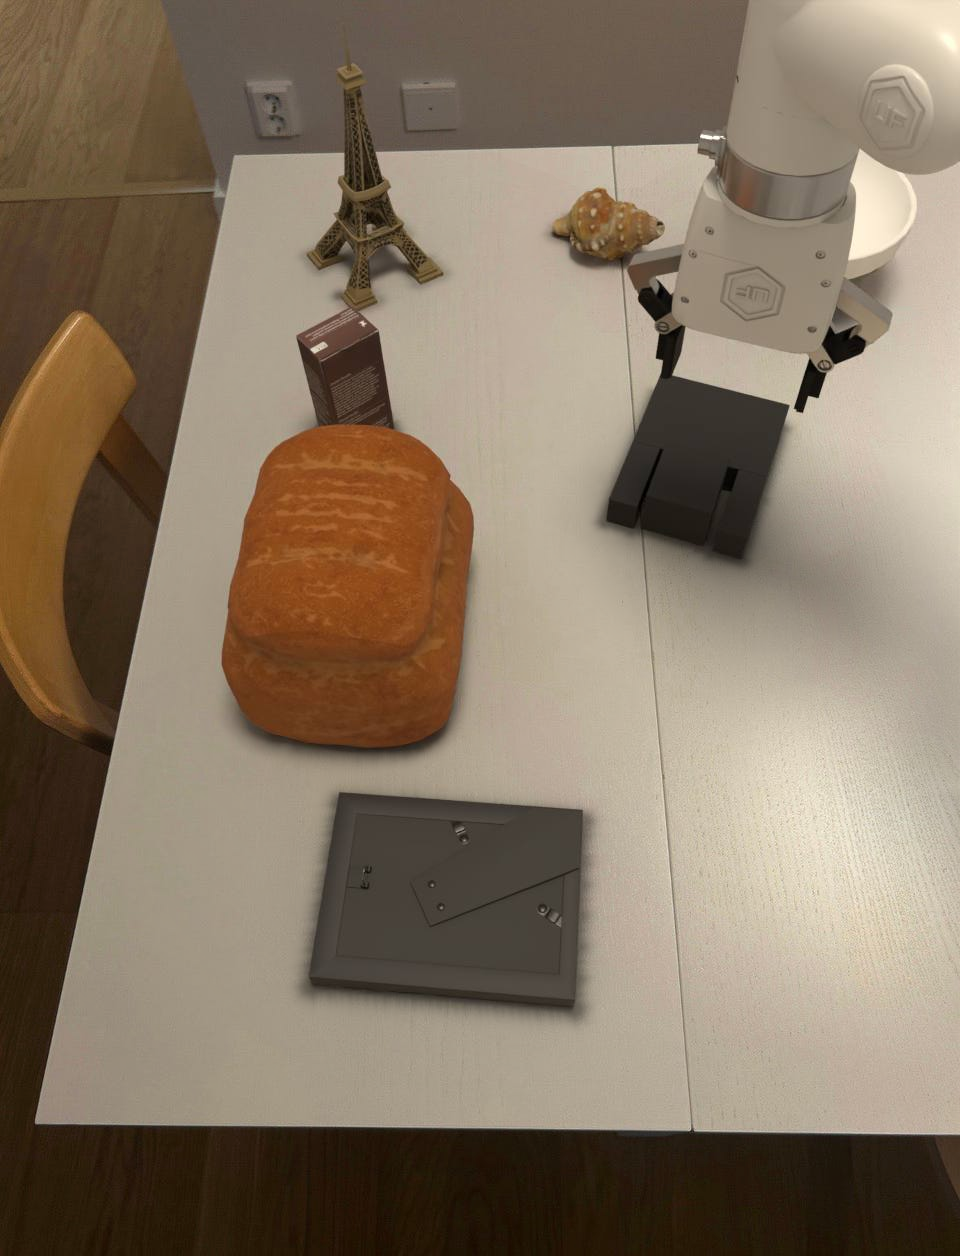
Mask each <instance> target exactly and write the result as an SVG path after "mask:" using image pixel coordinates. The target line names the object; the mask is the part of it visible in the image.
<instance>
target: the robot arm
mask: <svg viewBox="0 0 960 1256" xmlns="http://www.w3.org/2000/svg"><path fill="white" fill-rule="evenodd" d="M740 44H741V45H740V50H739V54H738V55H739V56H738V62H737V68H736V73H735V80H734V85H733V89H732V90H733V92H732V95H731V102H730V108H729V114H728V119H727V125H726V124H724V125H723V127H722V130H720V129H715V131H712V130H707V129H703V130H702V131H701V134H700V137H699V141H698V144H697V149H696V150H697V155H701V156H706V157H708V159H709V160H713V161H714V165H713V166H712V168H711V169H710V170H709V173H708V174H707V175H706V177H705V178H704V180H703V183H702V185H701V187H700V189H699V192H698V195H697V197H696V200H695V203H694V206H693V210H692V213H691V216H690V219H689V222H688V223H689V224H688V226H687V231H686V235H685V239H684V243H680V244H677V245H671V246H667V247H663V248H662V247H661V248H657V249H652V250H648V251H644V252H639V253H636V254H633V256H632V258H631V260H630V261H629V264H628V266H627V268H626V272H627V274H628V278H629V279H630V281H631V283H632V286H633V288H634V290H635V291H636V292H637V295H638V296H637V301H638V303H639V305H640V306H641V307H642V308H643V309H644V311H646V312H647V314H648V315H649V316H650V318H651V319H652V320H653V321H654V330H655V331H656V332H657V333H658V338H657V346H656V351H655V359H656V360H660V361H662V364H661V369H660V374H661V377H660V376H659V377H660V378H663V379H667V380H668V378H671V377H672V375H674V372H675V369H676V367H677V364H678V362H679V359H680V358H681V355H682V350H683V345H684V340H685V333H686V328H688V329H690V330H693V331H696V332H699V333H703V334H707V335H712V336H716V337H721V338H724V339H728V340H733V341H738V342H741V343H745V344H750V345H754V346H758V347H762V348H768V349H772V350H776V351H780V352H785V353H790V354H798V355H799V354H800V355H801V354H802V355H803V354H806V355H807V356H808V360H807V364H806V367H805V370H804V373H803V376H802V380H801V383H800V387H799V390H798V393H797V395H796V400H795V403H794V406H793V410H795V413H800V414H804V413H805V412H804V411H805V408H806V406H807V402H808V398H809V397H811V398H813V399H814V398H815V399H819V398H820V395H821V392H822V389H823V386H824V383H825V381H826V377H827V374H828V373H830V372H832V371H833V370H834V368H835V366H836V365H837V364H841V363H843V362H845V361H847V360H850V359H853V358H855V357H858V356H860V355H862V354H863V353H864V352H865V349H866V348H868V347H869V346H870V345H872V344H874V343H875V342H876V341H877V340H878V339H880V338H881V337H883V336H884V335H885V334H886V333H887V332H888V331H889V330H890V327H891V323H892V320H893V312H892V311H891V310H890V309H889V308H887V307H886V306H885V305H884V304H882V303H880V301H878V300H876V299H875V298H874V297H873V296H871V294H868V293H867V292H866V291H864V290H863V289H861V287H859V286H858V285H855V284H853V283H852V282H851V281H849V280H848V279H847V278H845V277H844V275H845V271H846V267H847V262H848V258H849V253H850V248H851V243H852V236H853V230H854V222H855V211H856V191H855V188H854V186H853V184H852V183H851V182H850V180H851V177H852V173H853V170H854V166H855V163H856V160H857V156H858V153H859V149H861V150H862V151H864V152H865V153H866V154H868V155H869V156H870V157H872V158H873V159H874V160H876V161H877V162H879V163H881V164H882V165H884V166H886V167H888V168H890V169H893V170H895V171H898V172H901V173H903V174H905V175H911V176H912V175H913V176H926V175H932V174H936V173H939V172H942V171H944V170H946V169H949V168H951V167H953V166H955V165H956V164H958V163H960V0H748V4H747V10H746V16H745V21H744V28H743V33H742V39H741V43H740ZM674 273H677V275H676V280H675V285H674V289H673V292H672V293H670V292H669V291H668V289H667V288H666V287H665V286H664V285H663V283H662V282H661V281H660V280H659V279H658V278H657V277H658V276H659V277H660V276H663V275H668V274H674ZM836 308H837V309H839V310H840V311H842V312H843V313H844V314H846V315H847V316H848V317H850V318H851V319H852V320H854V321H855V322H856V323H858V324H856V325H853V326H850V327H849V328H845V329H844V330H842V331H838V329H837V327H836V325H835V323H834V322H833V318H834V315H835V311H836Z"/></svg>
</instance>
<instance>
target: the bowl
mask: <svg viewBox="0 0 960 1256" xmlns="http://www.w3.org/2000/svg"><path fill="white" fill-rule="evenodd" d="M850 182H851V183H852V184H853V186H854V188H855V191H856V211H855V222H854V230H853V236H852V243H851V248H850V253H849V258H848V262H847V267H846V271H845V275H844V277H845V278H847V279H848V280H849V281H851V282H852V283H853V284H855V285H856V286H858V284H859V283H860V282H861V281H863V280H864V279H865V278H867V277H869V276H870V275H872V274H874V273H875V272H876V271H877V270H878V269H880V268H881V267H882V266H884V265H885V264H886V263H888V261H890V260H891V259H892V258H893V257H894V256H895V254H896V253H897V251H898V250H899V249H900V247H902V245H903V243H904V242H905V240H906V239H907V237H908V235H909V234H910V232H911V230H912V228H913V225H914V224H915V220H916V216H917V213H918V201H917V195H916V192H915V190H914V187H913V186H912V183H911V181H910V180H909V179H908V178H907V176H906V174H905V173H901V172H898V171H895V170H893V169H890V168H888V167H886V166H884V165H882V164H881V163H879V162H877V161H876V160H874V159H873V158H872V157H870V156H869V155H868V154H866V153H865V152H864V151H862V150H861V149H859V153H858V156H857V160H856V163H855V166H854V170H853V173H852V177H851V180H850Z"/></svg>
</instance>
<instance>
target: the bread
mask: <svg viewBox="0 0 960 1256" xmlns="http://www.w3.org/2000/svg"><path fill="white" fill-rule="evenodd" d="M258 472H259V473H258V476H257V480H256V483H255V488H254V489H255V490H254V494H253V496H252V499H251V501H250V504H249V506H248V509H247V511H246V514H245V516H244V520H243V525H242V532H241V541H240V546H239V552H238V558H237V561H236V564H235V568H234V572H233V575H232V578H231V582H230V585H229V592H228V598H227V599H228V600H227V615H226V616H227V618H226V623H225V629H224V635H223V642H222V647H221V667H222V670H223V673H224V677H225V680H226V682H227V685H228V686H229V689H230V691H231V693H232V695H233V697H234V700H235V701H236V704H237V705H238V707H239V709H240V710H241V712H242V713H243V714H244V715H245V717H247V718H248V720H249V721H250V722H251V723H252V724H254V725H255V726H258V727H259V728H260V729H262V730H264V731H266V732H267V733H269V734H272V735H276V736H281V737H285V738H290V739H293V740H296V741H300V742H303V743H309V744H317V745H333V746H335V745H337V746H346V747H347V746H348V747H357V748H388V747H389V748H390V747H397V746H406V745H408V744H412V743H415V742H420V741H421V740H423V739H425V738H427V737H429V736H430V735H432V734H434V733H436V732H437V731H440V729H442V728H443V727H444V726H445V724H446V723H447V721H448V720H449V717H450V715H451V711H452V707H453V703H454V700H455V695H456V691H457V685H458V679H459V673H460V668H461V660H462V655H463V640H464V628H465V617H466V609H467V588H468V578H469V569H470V563H471V558H472V552H473V551H472V550H473V544H474V533H475V520H474V513H473V509H472V506H471V503H470V502H469V500H468V498H467V497H466V496H465V494H464V493H463V492H462V490H461V489H460V488H459V486H457V484H455V482H453V481H452V480H451V474H450V472H449V470H448V469H447V467H446V465H445V463H444V462H443V460H442V459H441V458H440V457H439V456H438V455H437V454H436V453H435V452H434V451H433V450H432V449H431V448H430V447H429V446H428V445H426V444H425V443H424V442H423V441H421V440H419V439H418V438H416V437H415V436H412V435H411V434H408V433H405V432H403V431H399V430H396V429H390V428H385V427H380V426H370V425H341V424H336V425H328V426H316V427H312V428H309V429H305V430H304V431H301V432H299V433H297V434H295V435H292V436H291V437H288V438H287V439H285V440H283V441H282V442H280V443H279V444H278V445H276V446H275V447H273V449H272V450H271V451H270V452H269V453H268V455H267V456H266V457H265V460H264V461H263V463H262V465H261V466H260V468H259V471H258Z"/></svg>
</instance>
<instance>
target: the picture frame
mask: <svg viewBox="0 0 960 1256" xmlns="http://www.w3.org/2000/svg"><path fill="white" fill-rule="evenodd" d="M583 819H584V810H583V809H579V808H578V809H577V808H565V807H551V806H550V807H549V806H535V805H523V804H512V803H511V804H510V803H509V804H508V803H496V802H495V803H494V802H484V801H483V802H481V801H469V800H467V801H466V800H465V801H464V800H454V799H441V798H440V799H439V798H425V797H413V796H401V795H400V796H398V795H383V794H373V793H372V794H371V793H359V792H358V793H357V792H346V791H345V792H344V791H339V792H338V798H337V804H336V809H335V816H334V821H333V827H332V834H331V840H330V846H329V851H328V857H327V863H326V869H325V874H324V875H325V876H324V883H323V889H322V894H321V900H320V907H319V913H318V918H317V924H316V930H315V936H314V942H313V948H312V954H311V959H310V966H309V973H308V978H309V979H310V981H311V983H312V984H313V985H320V986H333V987H341V988H342V987H343V988H355V989H366V990H376V991H377V990H378V991H388V992H389V991H390V992H398V993H399V992H401V993H410V994H412V993H413V994H423V995H435V996H446V997H457V998H469V999H480V1000H491V1001H503V1002H514V1003H526V1004H535V1005H536V1004H537V1005H549V1006H558V1007H559V1006H562V1007H571V1008H573V1007H574V1006H575V1002H576V991H577V990H576V989H577V988H576V986H577V968H578V967H577V964H578V943H579V942H578V939H579V919H580V918H579V915H580V892H581V870H582V869H581V868H582V867H581V865H582V845H583V844H582V843H583V841H582V840H583Z"/></svg>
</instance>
